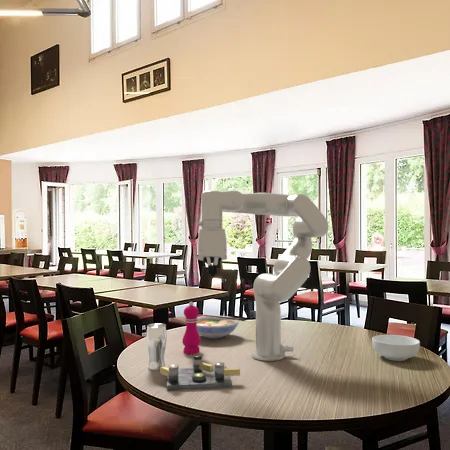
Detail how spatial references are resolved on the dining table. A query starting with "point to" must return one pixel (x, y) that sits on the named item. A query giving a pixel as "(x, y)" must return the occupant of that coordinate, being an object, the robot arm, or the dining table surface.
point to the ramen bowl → (216, 326)
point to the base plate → (198, 380)
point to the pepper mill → (191, 330)
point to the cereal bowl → (396, 346)
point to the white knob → (170, 372)
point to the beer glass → (156, 345)
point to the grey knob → (225, 371)
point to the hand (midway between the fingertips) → (212, 276)
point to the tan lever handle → (201, 364)
